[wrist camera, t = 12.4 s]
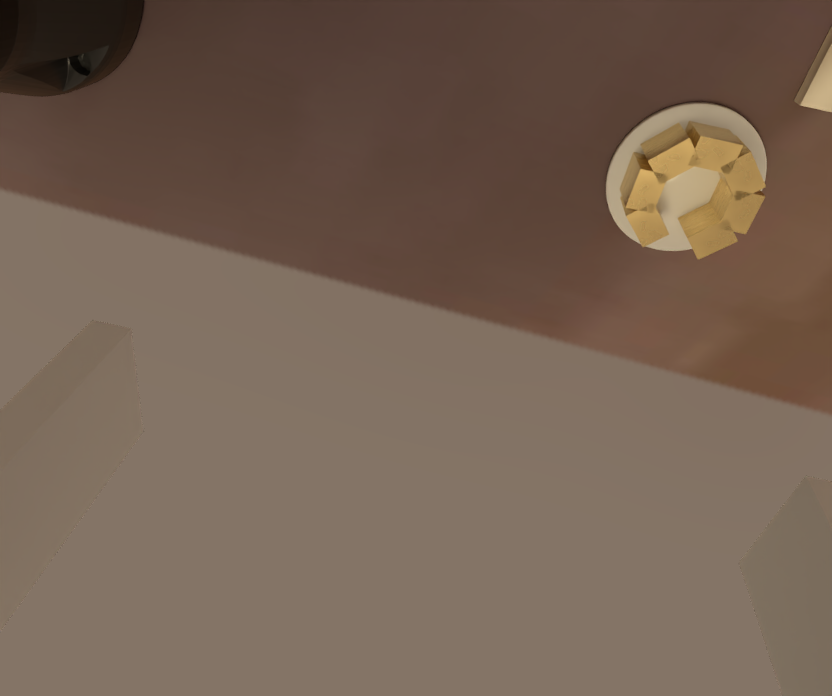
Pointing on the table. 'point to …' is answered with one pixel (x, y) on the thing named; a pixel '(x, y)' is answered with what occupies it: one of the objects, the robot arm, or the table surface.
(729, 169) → the c link
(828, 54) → the peg stand
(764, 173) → the coaster
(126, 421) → the robot arm
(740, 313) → the table surface
